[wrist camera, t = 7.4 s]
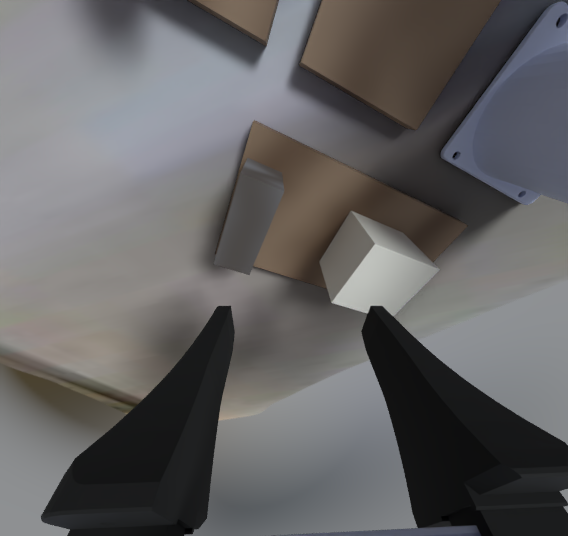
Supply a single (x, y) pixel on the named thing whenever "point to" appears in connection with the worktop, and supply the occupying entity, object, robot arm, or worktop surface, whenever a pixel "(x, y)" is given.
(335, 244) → the ceramic block
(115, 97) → the worktop surface
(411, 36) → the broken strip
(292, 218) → the walnut strip
